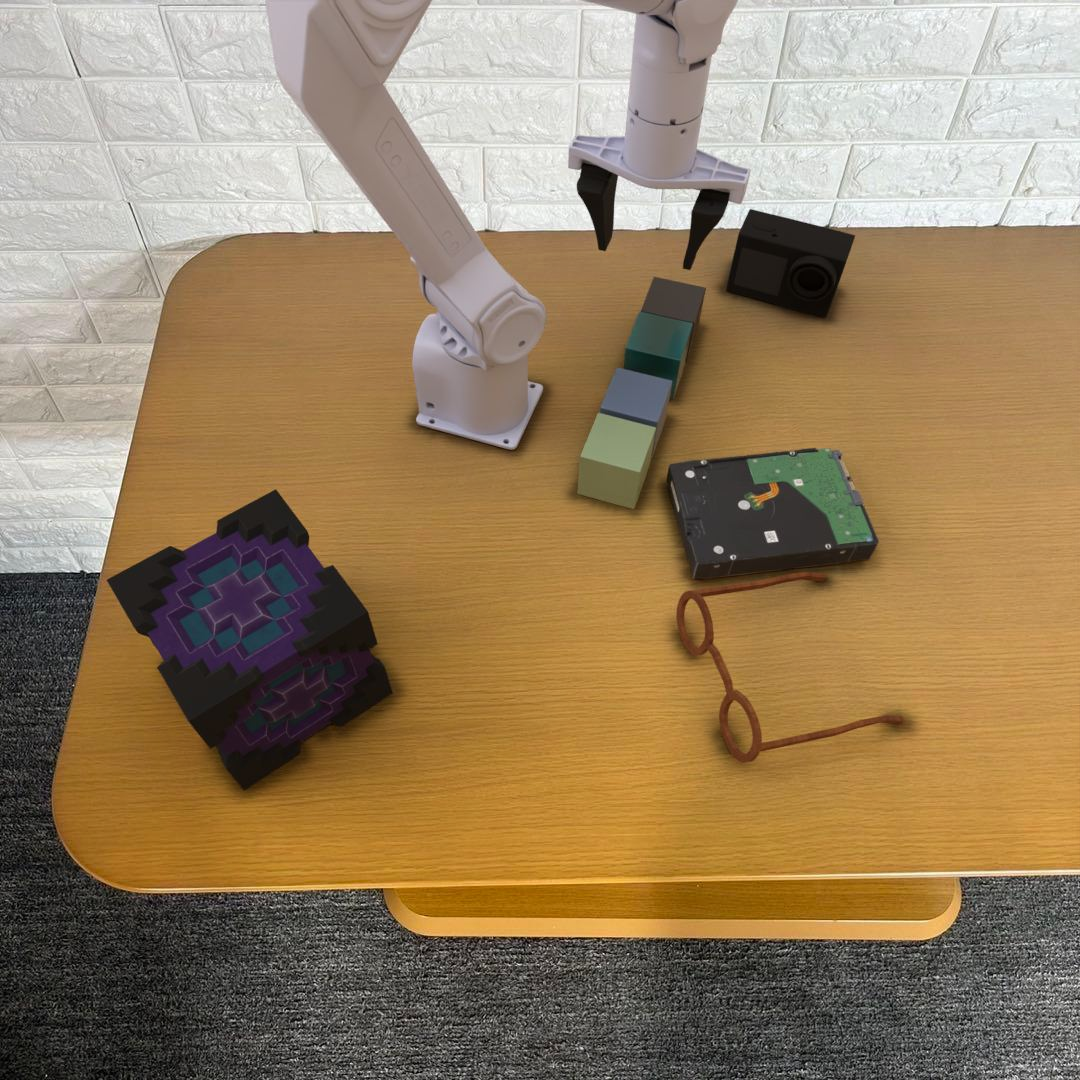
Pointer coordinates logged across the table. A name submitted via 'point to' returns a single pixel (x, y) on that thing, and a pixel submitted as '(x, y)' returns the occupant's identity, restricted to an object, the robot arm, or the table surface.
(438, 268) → the robot arm
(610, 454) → the sage block
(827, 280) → the digital camera
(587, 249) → the table surface
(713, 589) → the glasses
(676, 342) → the teal block
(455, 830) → the table surface
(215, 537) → the energy cube
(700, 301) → the charcoal block
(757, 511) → the disk drive
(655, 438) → the slate block
